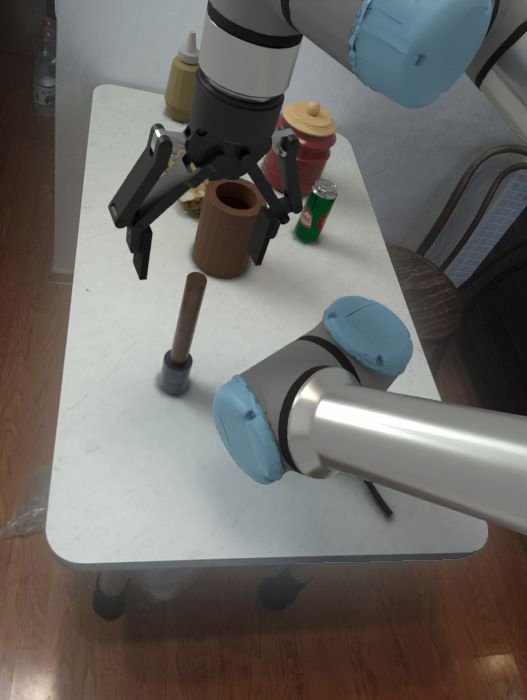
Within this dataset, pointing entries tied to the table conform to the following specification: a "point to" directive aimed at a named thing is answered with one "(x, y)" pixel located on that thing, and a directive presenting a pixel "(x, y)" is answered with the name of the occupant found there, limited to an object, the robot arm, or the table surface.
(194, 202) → the sponge
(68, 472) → the table surface
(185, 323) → the brush
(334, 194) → the soda can
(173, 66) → the squeeze bottle
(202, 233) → the jar
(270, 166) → the kitchen canister
